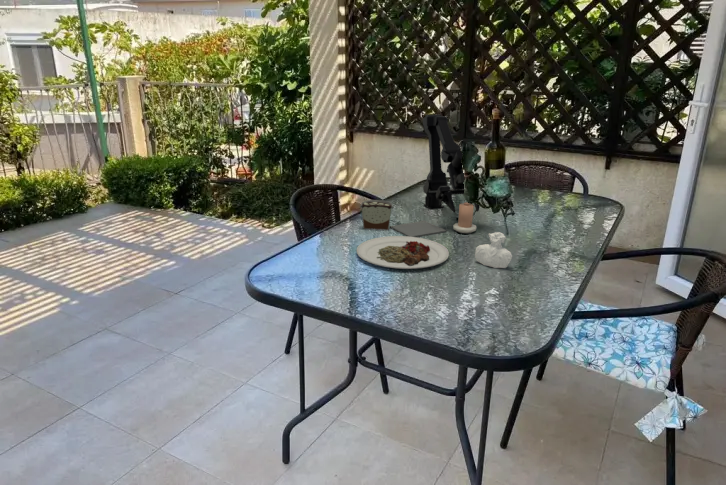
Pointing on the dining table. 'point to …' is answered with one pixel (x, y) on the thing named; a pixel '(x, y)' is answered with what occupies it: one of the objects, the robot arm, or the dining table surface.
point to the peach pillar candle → (465, 215)
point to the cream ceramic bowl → (464, 230)
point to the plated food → (402, 252)
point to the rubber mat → (417, 229)
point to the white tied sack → (494, 252)
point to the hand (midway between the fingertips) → (466, 211)
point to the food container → (376, 214)
